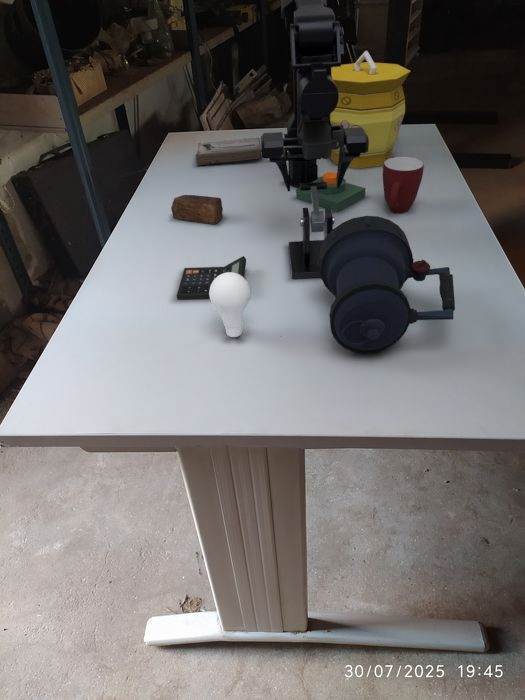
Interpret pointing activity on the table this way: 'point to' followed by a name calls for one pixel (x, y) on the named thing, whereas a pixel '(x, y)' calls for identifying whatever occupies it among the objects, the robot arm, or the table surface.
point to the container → (370, 106)
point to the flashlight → (375, 283)
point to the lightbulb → (230, 300)
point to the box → (228, 151)
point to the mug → (401, 182)
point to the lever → (315, 204)
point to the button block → (334, 195)
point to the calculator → (205, 279)
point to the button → (330, 178)
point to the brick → (197, 208)
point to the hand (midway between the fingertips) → (313, 189)
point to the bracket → (308, 248)
